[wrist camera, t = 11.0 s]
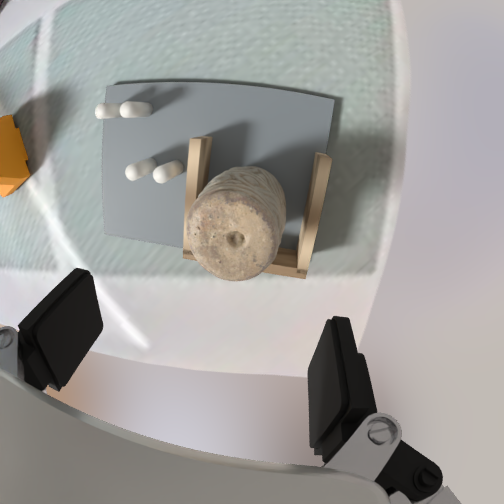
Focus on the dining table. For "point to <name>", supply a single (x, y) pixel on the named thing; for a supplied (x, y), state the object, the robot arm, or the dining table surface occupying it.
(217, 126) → the board
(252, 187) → the carving
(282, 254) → the end holder
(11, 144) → the bracket
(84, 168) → the dining table surface
